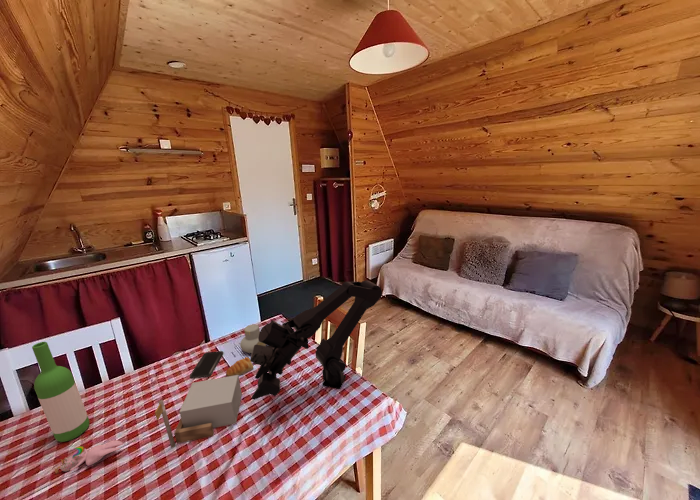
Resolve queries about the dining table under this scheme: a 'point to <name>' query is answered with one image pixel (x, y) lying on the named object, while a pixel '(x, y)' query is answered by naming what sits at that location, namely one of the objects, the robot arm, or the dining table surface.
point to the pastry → (240, 367)
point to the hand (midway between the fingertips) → (254, 388)
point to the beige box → (212, 402)
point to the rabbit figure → (88, 455)
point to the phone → (206, 365)
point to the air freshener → (251, 338)
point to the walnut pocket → (181, 432)
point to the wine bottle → (59, 396)
